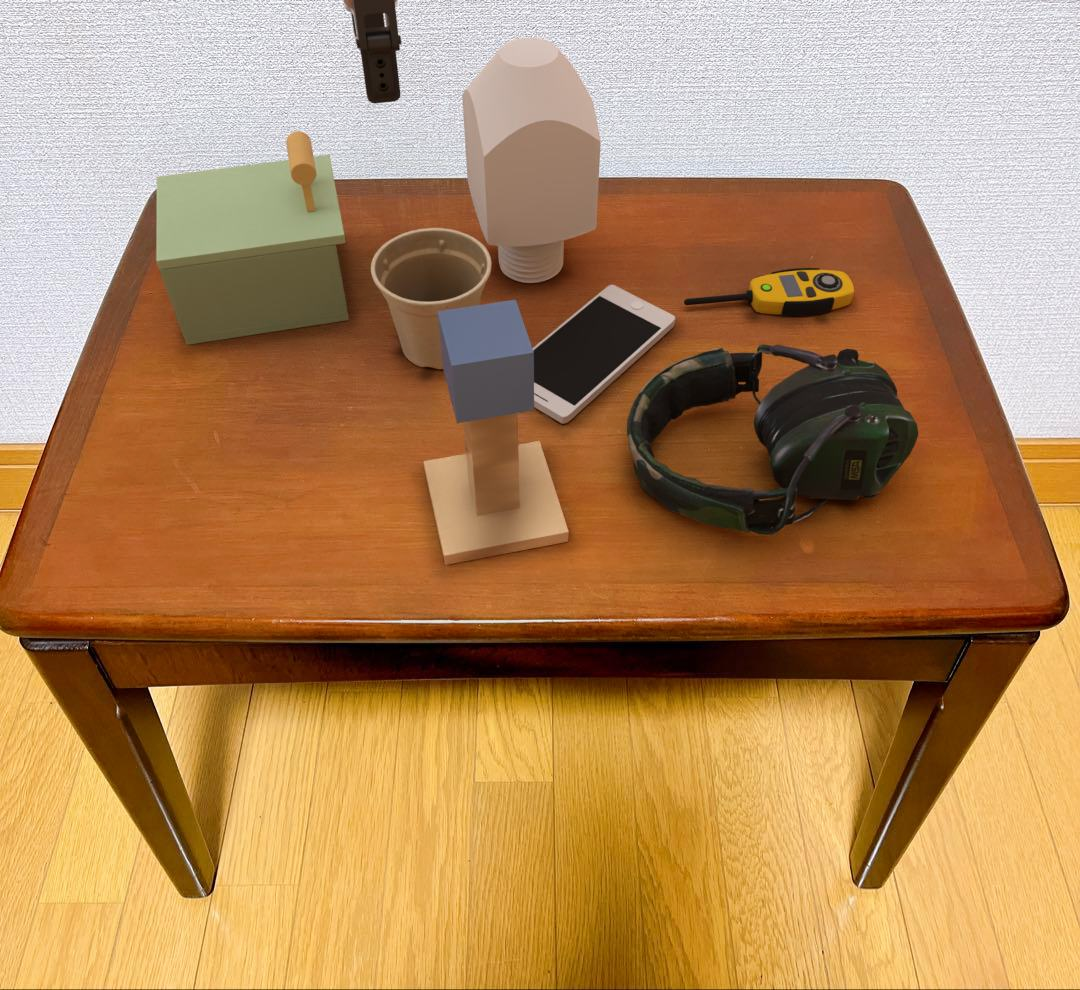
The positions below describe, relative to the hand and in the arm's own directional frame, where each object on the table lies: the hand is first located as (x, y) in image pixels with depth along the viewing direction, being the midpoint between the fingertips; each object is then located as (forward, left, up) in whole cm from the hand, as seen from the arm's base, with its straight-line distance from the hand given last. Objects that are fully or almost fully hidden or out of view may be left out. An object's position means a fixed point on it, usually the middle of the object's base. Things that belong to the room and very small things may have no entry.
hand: (377, 68), depth 70 cm
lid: (-12, +7, -15) cm, 20 cm away
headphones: (+23, -23, -23) cm, 40 cm away
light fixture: (+12, +5, -23) cm, 27 cm away
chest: (-12, +7, -23) cm, 27 cm away
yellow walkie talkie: (+31, -5, -23) cm, 39 cm away
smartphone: (+14, -8, -23) cm, 28 cm away
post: (+3, -22, -23) cm, 32 cm away
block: (+3, -22, -11) cm, 24 cm away
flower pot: (+2, -4, -23) cm, 23 cm away
